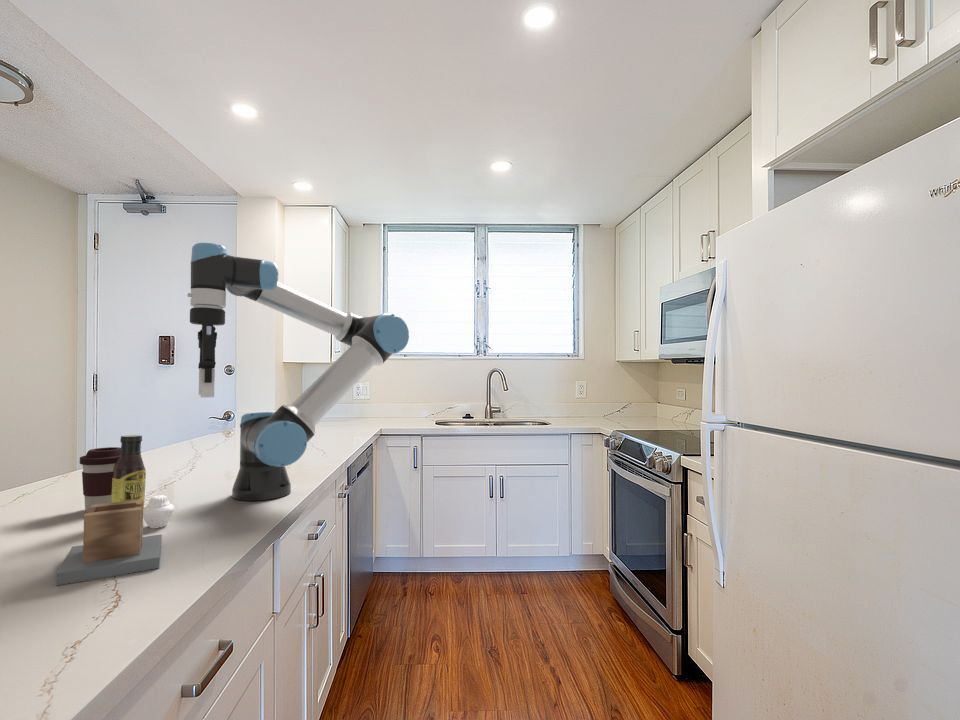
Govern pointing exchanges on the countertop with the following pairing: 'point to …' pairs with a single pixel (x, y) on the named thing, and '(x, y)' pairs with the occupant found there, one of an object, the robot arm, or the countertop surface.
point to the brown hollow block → (113, 530)
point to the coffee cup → (98, 475)
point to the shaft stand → (109, 563)
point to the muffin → (158, 511)
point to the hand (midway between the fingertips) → (206, 396)
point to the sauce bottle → (129, 471)
